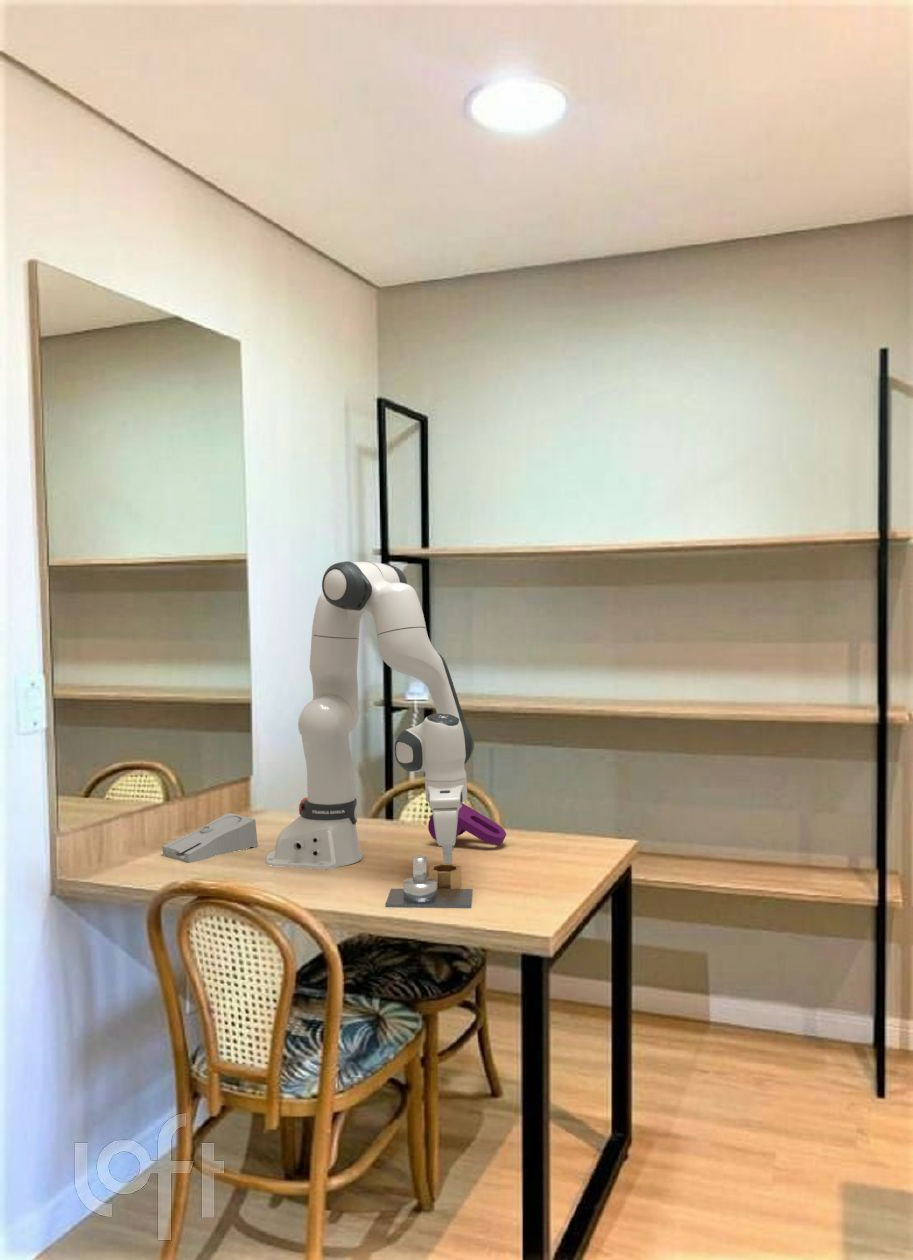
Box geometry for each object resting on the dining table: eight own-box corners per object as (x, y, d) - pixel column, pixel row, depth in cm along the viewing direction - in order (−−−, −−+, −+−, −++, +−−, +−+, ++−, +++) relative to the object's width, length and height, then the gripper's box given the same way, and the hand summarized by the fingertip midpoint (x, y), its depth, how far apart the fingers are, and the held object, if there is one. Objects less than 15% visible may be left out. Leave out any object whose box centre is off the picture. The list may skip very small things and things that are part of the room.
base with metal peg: (385, 909, 194) (384, 864, 193) (391, 893, 204) (390, 850, 203) (471, 909, 193) (470, 864, 192) (472, 893, 203) (472, 850, 202)
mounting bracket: (497, 860, 247) (437, 823, 252) (511, 831, 245) (450, 795, 250) (484, 870, 238) (423, 832, 243) (498, 841, 236) (436, 803, 242)
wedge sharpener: (257, 846, 243) (257, 818, 242) (188, 864, 228) (188, 834, 227) (231, 839, 250) (230, 812, 250) (162, 856, 235) (161, 827, 234)
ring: (428, 891, 204) (428, 872, 204) (430, 881, 211) (430, 863, 211) (459, 891, 204) (459, 872, 204) (461, 881, 211) (461, 863, 210)
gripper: (434, 781, 217) (436, 843, 218) (428, 802, 197) (431, 870, 197) (462, 780, 217) (464, 842, 217) (460, 801, 196) (462, 869, 197)
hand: (449, 855), depth 207 cm, fingers open, 8 cm apart
